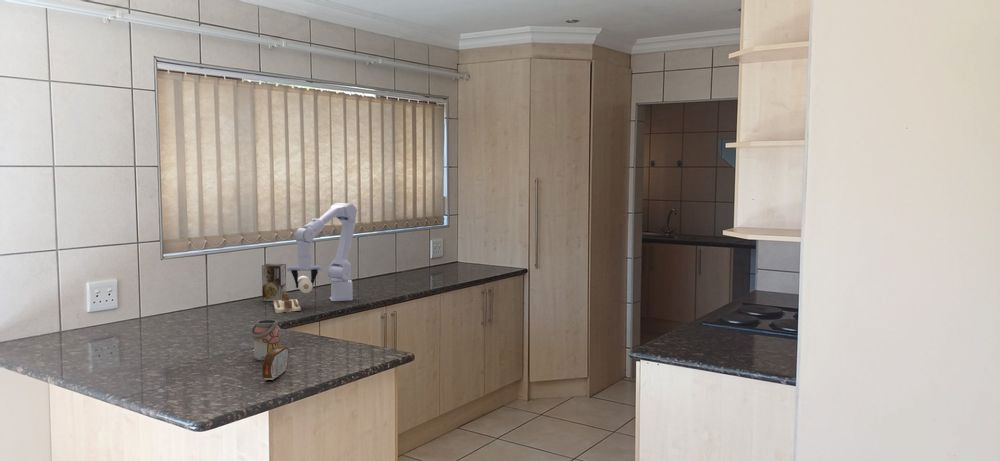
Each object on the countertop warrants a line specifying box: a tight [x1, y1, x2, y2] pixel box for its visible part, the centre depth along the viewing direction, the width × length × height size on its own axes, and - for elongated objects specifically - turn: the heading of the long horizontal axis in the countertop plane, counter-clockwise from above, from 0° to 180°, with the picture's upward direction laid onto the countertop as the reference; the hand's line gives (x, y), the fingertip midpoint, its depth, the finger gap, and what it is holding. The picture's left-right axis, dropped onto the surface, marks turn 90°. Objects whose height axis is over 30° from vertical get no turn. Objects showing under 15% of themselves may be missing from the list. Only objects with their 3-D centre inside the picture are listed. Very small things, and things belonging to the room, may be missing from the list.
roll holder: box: [272, 292, 302, 314], centre depth 314 cm, size 10×20×4 cm, turn 20°
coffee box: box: [261, 263, 287, 302], centre depth 330 cm, size 9×6×16 cm
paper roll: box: [298, 275, 314, 294], centre depth 315 cm, size 6×13×6 cm, turn 21°
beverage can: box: [249, 318, 281, 359], centre depth 235 cm, size 9×8×12 cm
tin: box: [261, 345, 290, 379], centre depth 216 cm, size 15×3×8 cm, turn 176°
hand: (304, 287), depth 316 cm, fingers closed on paper roll, 6 cm apart
